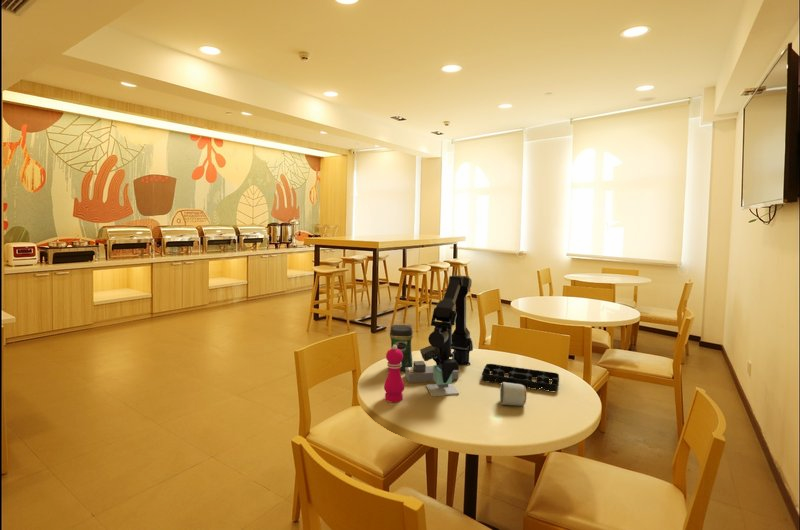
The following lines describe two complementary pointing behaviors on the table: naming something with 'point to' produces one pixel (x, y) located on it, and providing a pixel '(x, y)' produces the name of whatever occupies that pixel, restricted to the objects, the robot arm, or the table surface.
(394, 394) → the pepper mill
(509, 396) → the ceramic mug
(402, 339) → the coffee jar
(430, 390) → the mat
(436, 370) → the green block
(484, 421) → the table surface
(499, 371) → the egg carton
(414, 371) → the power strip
